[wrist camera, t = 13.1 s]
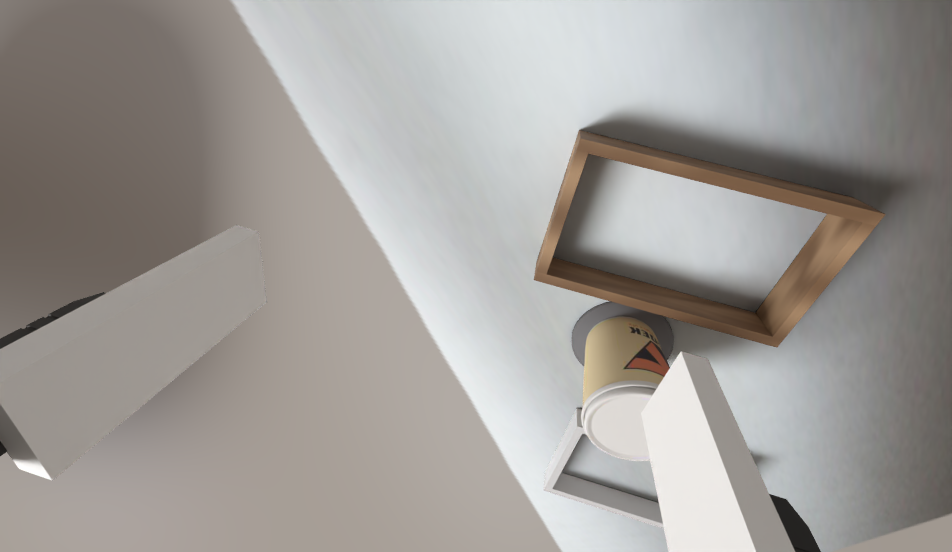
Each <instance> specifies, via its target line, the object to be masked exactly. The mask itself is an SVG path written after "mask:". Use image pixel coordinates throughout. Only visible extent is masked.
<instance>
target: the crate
mask: <svg viewBox="0 0 952 552" xmlns="http://www.w3.org/2000/svg"><path fill="white" fill-rule="evenodd" d="M588 154H592V155H596V156H600V157H604V158H608V159H612V160H616V161H620V162H624V163H628V164H632V165H635V166H639V167H643V168H647V169H651V170H655V171H659V172H663V173H667V174H671V175H675V176H679V177H683V178H687V179H691V180H695V181H699V182H703V183H707V184H711V185H715V186H719V187H723V188H727V189H731V190H735V191H739V192H743V193H747V194H751V195H755V196H759V197H763V198H767V199H771V200H775V201H779V202H783V203H787V204H791V205H795V206H799V207H803V208H807V209H811V210H815V211H819V212H823V213H827V215H826V217H825V218H824V219H823V221H822V222H821V223H820V225H819V226H818V228H817V229H816V230H815V232H814V233H813V234H812V236H811V237H810V239H809V240H808V241H807V243H806V244H805V245H804V247H803V248H802V250H801V251H800V252H799V254H798V255H797V256H796V258H795V259H794V260H793V262H792V263H791V265H790V266H789V267H788V269H787V270H786V271H785V273H784V274H783V276H782V277H781V278H780V280H779V281H778V282H777V284H776V285H775V287H774V288H773V289H772V291H771V292H770V293H769V295H768V296H767V297H766V299H765V300H764V302H763V303H762V304H761V306H760V307H759V308H758V310H757V311H756V313H754V312H751V311H747V310H743V309H740V308H736V307H732V306H729V305H725V304H721V303H718V302H714V301H710V300H707V299H703V298H699V297H696V296H692V295H688V294H685V293H681V292H677V291H674V290H670V289H666V288H663V287H659V286H655V285H652V284H648V283H644V282H641V281H637V280H633V279H630V278H626V277H622V276H619V275H615V274H611V273H608V272H604V271H600V270H597V269H593V268H589V267H586V266H582V265H578V264H575V263H571V262H567V261H564V260H560V259H556V258H553V254H554V251H555V248H556V245H557V243H558V240H559V237H560V234H561V231H562V228H563V225H564V222H565V219H566V216H567V214H568V211H569V208H570V205H571V202H572V199H573V196H574V193H575V190H576V188H577V185H578V182H579V179H580V176H581V173H582V170H583V167H584V164H585V162H586V159H587V156H588ZM884 216H885V214H884V213H882V212H880V211H878V210H876V209H874V208H872V207H870V206H869V205H867V204H865V203H863V202H861V201H859V200H857V199H855V198H853V197H848V196H844V195H840V194H836V193H832V192H828V191H824V190H820V189H816V188H812V187H808V186H804V185H800V184H796V183H792V182H788V181H784V180H780V179H776V178H772V177H768V176H764V175H759V174H755V173H751V172H747V171H743V170H739V169H735V168H731V167H727V166H723V165H719V164H715V163H711V162H707V161H703V160H699V159H695V158H691V157H687V156H683V155H679V154H674V153H670V152H666V151H662V150H658V149H654V148H650V147H646V146H642V145H638V144H634V143H630V142H626V141H622V140H618V139H614V138H610V137H606V136H602V135H598V134H594V133H589V132H585V131H581V130H579V132H578V135H577V139H576V142H575V145H574V148H573V151H572V154H571V157H570V160H569V163H568V166H567V169H566V173H565V176H564V179H563V182H562V185H561V188H560V191H559V194H558V197H557V200H556V203H555V206H554V210H553V213H552V216H551V219H550V222H549V225H548V228H547V231H546V234H545V237H544V240H543V244H542V247H541V250H540V253H539V256H538V259H537V263H536V269H535V276H534V280H536V281H539V282H543V283H547V284H550V285H554V286H557V287H561V288H565V289H568V290H572V291H575V292H579V293H583V294H586V295H590V296H593V297H597V298H601V299H604V300H608V301H611V302H615V303H619V304H622V305H626V306H629V307H633V308H637V309H640V310H644V311H647V312H651V313H655V314H658V315H662V316H665V317H669V318H673V319H676V320H680V321H683V322H687V323H691V324H694V325H698V326H701V327H705V328H709V329H712V330H716V331H719V332H723V333H727V334H730V335H734V336H737V337H741V338H745V339H748V340H752V341H755V342H759V343H763V344H766V345H770V346H773V347H778V346H779V344H780V343H781V342H782V341H783V340H784V338H785V337H786V336H787V335H788V333H789V332H790V331H791V330H792V329H793V327H794V326H795V325H796V324H797V322H798V321H799V320H800V319H801V317H802V316H803V315H804V314H805V313H806V311H807V310H808V309H809V308H810V306H811V305H812V304H813V303H814V302H815V300H816V299H817V298H818V297H819V295H820V294H821V293H822V292H823V290H824V289H825V288H826V287H827V286H828V284H829V283H830V282H831V281H832V279H833V278H834V277H835V276H836V275H837V273H838V272H839V271H840V270H841V268H842V267H843V266H844V265H845V264H846V262H847V261H848V260H849V259H850V257H851V256H852V255H853V254H854V252H855V251H856V250H857V249H858V248H859V246H860V245H861V244H862V243H863V241H864V240H865V239H866V238H867V237H868V235H869V234H870V233H871V232H872V230H873V229H874V228H875V227H876V226H877V224H878V223H879V222H880V221H881V219H882V218H883V217H884Z"/></svg>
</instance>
